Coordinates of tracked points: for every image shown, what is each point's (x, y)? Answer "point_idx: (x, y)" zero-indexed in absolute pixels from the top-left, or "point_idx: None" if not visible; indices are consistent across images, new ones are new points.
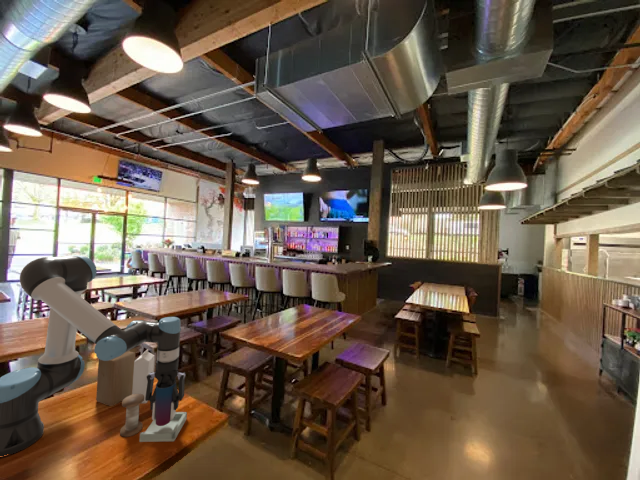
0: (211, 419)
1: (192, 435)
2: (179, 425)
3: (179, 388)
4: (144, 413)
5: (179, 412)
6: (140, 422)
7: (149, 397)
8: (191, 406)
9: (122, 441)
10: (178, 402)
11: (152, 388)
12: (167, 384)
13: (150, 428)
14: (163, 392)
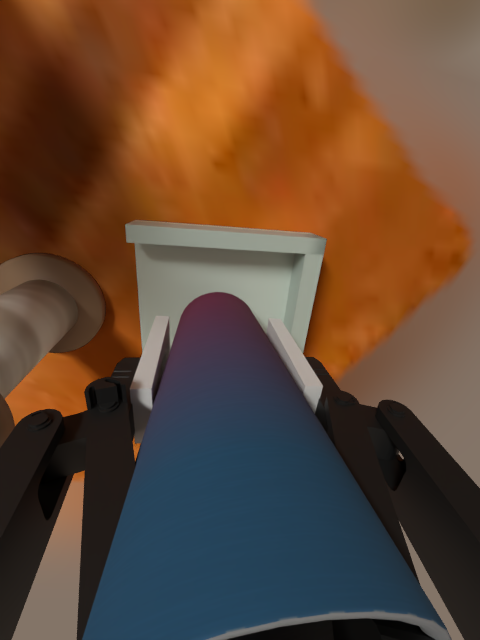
0: (431, 248)
1: (349, 345)
2: (304, 343)
3: (451, 595)
4: (17, 144)
5: (281, 239)
6: (67, 269)
7: (66, 474)
8: (322, 91)
9: (68, 368)
10: (334, 384)
11: (9, 532)
12: (233, 484)
13: (154, 315)
14: (260, 638)
